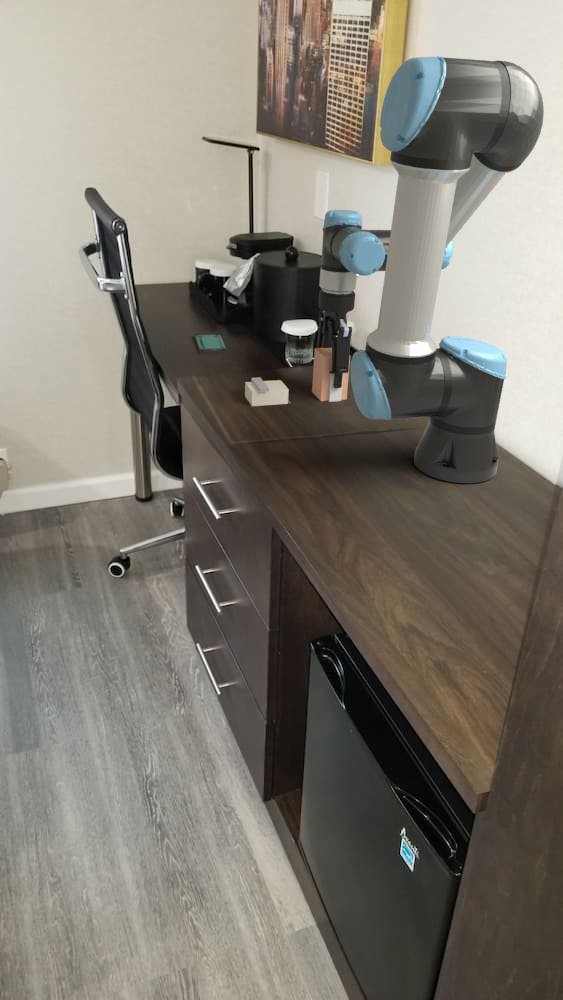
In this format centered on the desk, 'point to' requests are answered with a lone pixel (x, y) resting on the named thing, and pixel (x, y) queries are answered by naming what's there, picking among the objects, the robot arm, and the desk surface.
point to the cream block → (266, 392)
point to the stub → (325, 374)
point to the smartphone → (210, 343)
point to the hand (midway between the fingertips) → (329, 395)
